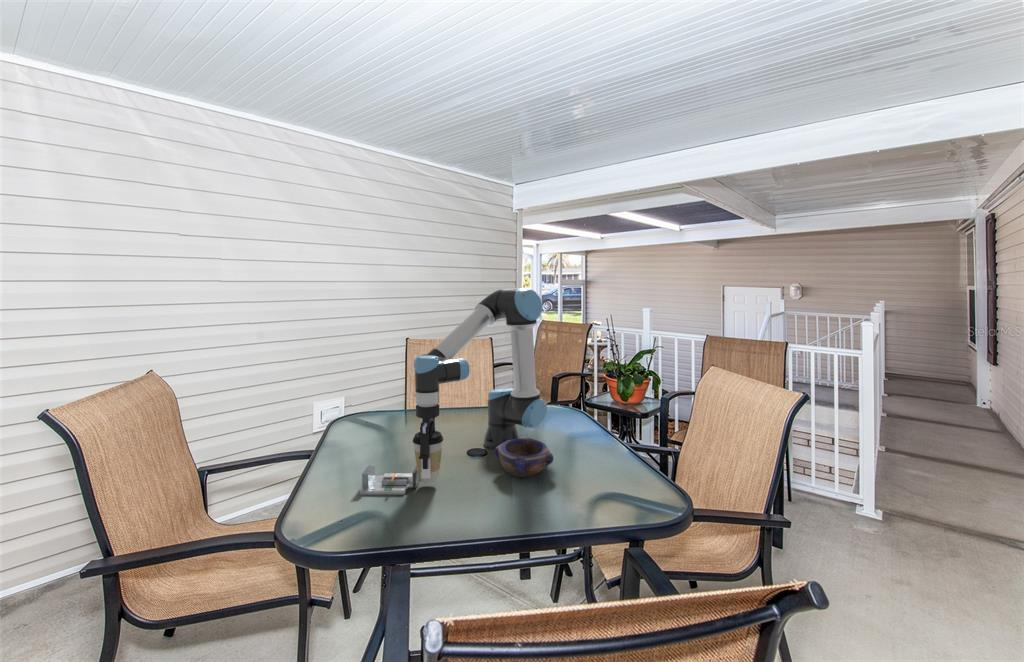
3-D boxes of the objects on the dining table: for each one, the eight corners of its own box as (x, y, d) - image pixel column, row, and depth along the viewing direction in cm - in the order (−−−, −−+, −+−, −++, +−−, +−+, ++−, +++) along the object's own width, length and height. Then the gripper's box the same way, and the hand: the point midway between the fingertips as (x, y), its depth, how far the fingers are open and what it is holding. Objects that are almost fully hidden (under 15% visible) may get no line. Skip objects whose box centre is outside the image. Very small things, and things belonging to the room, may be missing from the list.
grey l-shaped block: (412, 478, 156) (412, 462, 156) (404, 494, 144) (404, 477, 144) (371, 479, 156) (370, 463, 155) (359, 494, 144) (359, 477, 143)
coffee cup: (449, 475, 153) (448, 431, 152) (434, 487, 144) (434, 440, 142) (423, 471, 156) (422, 428, 155) (407, 483, 147) (406, 437, 146)
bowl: (513, 487, 149) (513, 457, 148) (489, 468, 165) (489, 441, 164) (559, 477, 158) (559, 449, 157) (532, 460, 173) (533, 434, 173)
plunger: (419, 480, 153) (419, 466, 153) (414, 490, 145) (414, 475, 145) (386, 480, 153) (386, 466, 152) (379, 491, 145) (379, 475, 145)
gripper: (422, 396, 158) (423, 460, 160) (408, 412, 137) (410, 486, 139) (443, 396, 158) (444, 459, 160) (433, 412, 137) (434, 485, 139)
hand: (428, 472), depth 150 cm, fingers closed on coffee cup, 9 cm apart
